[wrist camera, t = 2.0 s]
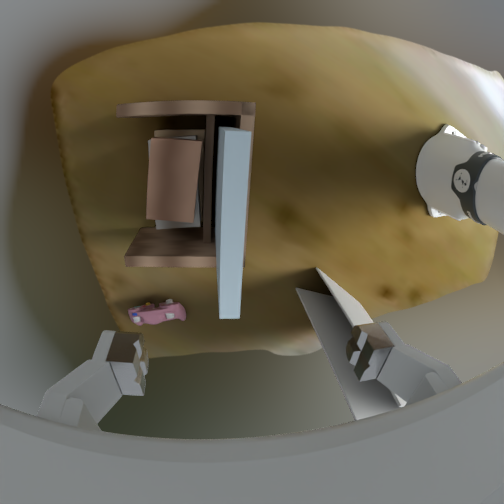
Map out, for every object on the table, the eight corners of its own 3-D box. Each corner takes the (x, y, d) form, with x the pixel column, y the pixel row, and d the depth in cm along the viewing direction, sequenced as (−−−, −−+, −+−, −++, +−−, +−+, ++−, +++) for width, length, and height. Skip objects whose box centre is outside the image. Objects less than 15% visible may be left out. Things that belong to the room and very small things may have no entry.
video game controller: (184, 294, 51) (177, 299, 44) (188, 318, 51) (182, 327, 44) (134, 300, 50) (121, 306, 43) (139, 324, 50) (126, 333, 43)
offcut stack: (205, 129, 38) (203, 130, 30) (203, 215, 43) (200, 236, 36) (157, 129, 37) (143, 132, 29) (158, 215, 42) (146, 236, 35)
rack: (245, 107, 37) (255, 102, 28) (237, 236, 45) (244, 267, 37) (138, 107, 35) (116, 104, 26) (141, 236, 43) (125, 266, 34)
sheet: (229, 126, 38) (251, 131, 16) (225, 218, 44) (239, 318, 22) (218, 126, 38) (225, 130, 16) (214, 218, 44) (219, 318, 22)
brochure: (295, 288, 51) (359, 433, 25) (316, 266, 50) (400, 404, 23) (340, 321, 57) (405, 440, 30) (359, 302, 55) (435, 418, 28)
